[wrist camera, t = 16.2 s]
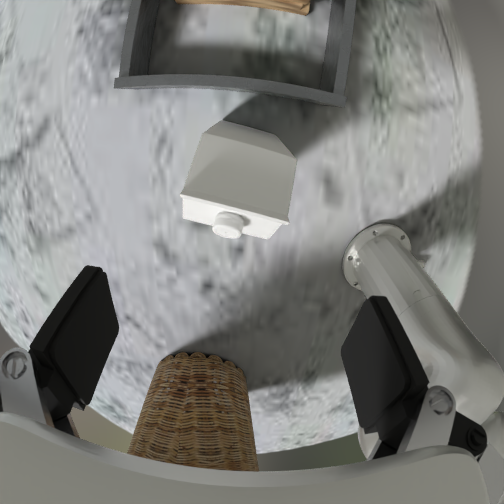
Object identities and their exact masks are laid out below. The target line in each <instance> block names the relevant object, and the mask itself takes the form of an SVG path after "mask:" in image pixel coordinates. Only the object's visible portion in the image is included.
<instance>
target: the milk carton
mask: <svg viewBox="0 0 504 504" xmlns="http://www.w3.org/2000/svg"><path fill="white" fill-rule="evenodd" d="M296 165H297V159H296V158H295V157H294V156H293V154H292V153H291V152H290V151H289V150H288V149H287V147H286V146H285V145H284V144H283V143H282V142H281V141H280V139H279V138H278V137H277V136H276V135H274V134H271V133H268V132H264V131H261V130H258V129H254V128H251V127H247V126H243V125H240V124H236V123H232V122H228V121H224V120H221V121H219V122H218V123H217V124H215V125H214V126H212V127H211V128H209V129H208V130H207V131H205V132H204V133H202V136H201V138H200V141H199V144H198V147H197V150H196V152H195V155H194V158H193V161H192V164H191V167H190V170H189V173H188V176H187V179H186V182H185V186H184V189H183V190H182V192H181V194H180V197H181V198H183V218H184V219H188V220H192V221H196V222H199V223H204V224H208V225H212V226H213V228H212V229H213V232H214V233H215V234H217V235H219V236H222V237H226V238H239V237H240V236H241V235H242V233H244V234H247V235H251V236H256V237H260V238H264V239H269V238H270V237H271V236H272V235H273V233H274V232H275V231H276V230H277V229H278V228H279V227H280V225H281V224H285V225H289V223H290V222H289V219H288V212H289V206H290V200H291V195H292V189H293V183H294V177H295V171H296Z"/></svg>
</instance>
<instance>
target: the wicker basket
mask: <svg viewBox="0 0 504 504" xmlns="http://www.w3.org/2000/svg"><path fill="white" fill-rule="evenodd" d="M127 454H130V455H134V456H138V457H142V458H146V459H151V460H155V461H160V462H165V463H171V464H176V465H183V466H189V467H197V468H205V469H215V470H228V471H252V472H259V468H258V461H257V454H256V447H255V440H254V433H253V426H252V419H251V411H250V404H249V396H248V390H247V383H246V377H245V376H244V374H243V371H242V370H241V369H240V368H237V369H236V367H235V365H234V364H233V363H232V362H231V361H225V362H224V363H223V361H222V359H221V358H220V357H218V356H216V355H211V356H209V357H208V358H206V356H205V355H204V354H203V353H200V352H195V353H193V354H192V355H191V356H190V357H189V355H188V354H187V353H185V352H181V353H179V354H177V355H176V356H175V358H174V357H173V356H172V355H169V356H167V357H166V358H165V359H164V361H160V362H159V364H158V366H157V369H156V371H155V374H154V376H153V379H152V382H151V384H150V387H149V390H148V393H147V396H146V398H145V401H144V404H143V407H142V410H141V413H140V416H139V419H138V422H137V425H136V428H135V431H134V434H133V437H132V440H131V443H130V447H129V450H128V453H127Z"/></svg>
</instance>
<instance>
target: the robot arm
mask: <svg viewBox="0 0 504 504" xmlns="http://www.w3.org/2000/svg"><path fill="white" fill-rule="evenodd" d="M424 267H425V261H423V260H417V259H416V258H415V257H414V256H413V255H412V253H411V243H410V240H409V238H408V236H407V235H406V234H405V232H404V231H403V230H401V229H400V228H399V227H397V226H395V225H392V224H377V225H373V226H371V227H369V228H367V229H365V230H363V231H362V232H360V233H359V234H358V235H357V236H356V237H355V238H354V239H353V240H352V241H351V242H350V244H349V245H348V247H347V249H346V251H345V254H344V256H343V261H342V269H343V273H344V276H345V278H346V280H347V281H348V283H349V284H350V285H351V286H352V287H354V288H356V289H358V290H362V291H363V292H364V294H365V296H366V298H367V299H366V300H365V302H364V303H363V306H362V308H361V310H360V312H359V314H358V316H357V318H356V320H355V322H354V324H353V326H352V328H351V330H350V332H349V334H348V336H347V338H346V340H345V342H344V344H343V345H342V348H341V356H342V360H343V363H344V367H345V370H346V374H347V378H348V382H349V385H350V389H351V393H352V397H353V401H354V405H355V409H356V413H357V417H358V421H359V428H358V439H359V443H360V446H361V449H362V451H363V453H364V455H365V457H366V458H367V461H364V462H358V463H353V464H347V465H341V466H334V467H327V468H319V469H310V470H296V471H276V472H275V471H272V472H252V471H228V470H215V469H205V468H197V467H189V466H183V465H176V464H171V463H165V462H160V461H155V460H151V459H146V458H142V457H138V456H134V455H130V454H126V453H122V452H119V451H116V450H113V449H109V448H106V447H103V446H100V445H97V444H94V443H91V442H88V441H86V440H83V439H80V437H79V435H78V432H77V430H76V428H75V425H74V422H73V420H72V417H71V415H70V412H71V409H72V407H75V408H77V409H80V410H83V411H84V409H85V406H86V405H89V404H90V402H91V400H92V397H93V394H94V391H95V389H96V386H97V383H98V381H99V378H100V376H101V373H102V371H103V368H104V366H105V363H106V361H107V358H108V356H109V353H110V351H111V349H112V346H113V344H114V342H115V339H116V337H117V335H118V332H119V324H118V320H117V317H116V313H115V309H114V305H113V301H112V297H111V292H110V288H109V284H108V279H107V275H106V273H105V272H103V270H102V268H100V267H95V266H89V265H87V266H85V267H84V268H83V270H82V271H81V272H80V274H79V275H78V276H77V277H76V279H75V280H74V281H73V283H72V284H71V285H70V287H69V288H68V289H67V291H66V292H65V294H64V295H63V296H62V298H61V299H60V301H59V302H58V303H57V305H56V306H55V308H54V309H53V311H52V312H51V314H50V315H49V317H48V318H47V320H46V321H45V323H44V324H43V326H42V327H41V329H40V330H39V332H38V333H37V335H36V337H35V338H34V340H33V342H32V343H31V345H30V350H29V352H27V350H25V349H23V348H12V349H10V350H8V351H7V352H6V353H5V354H4V355H3V356H2V358H1V359H0V504H504V412H502V411H497V412H494V411H495V410H496V409H497V407H498V406H499V404H500V403H501V401H502V399H503V396H504V374H503V371H502V369H501V367H500V366H499V364H498V363H497V361H496V360H495V359H494V357H493V356H492V355H491V354H490V353H489V351H487V349H486V348H485V347H484V346H483V345H482V344H481V342H480V341H479V340H478V339H477V338H476V337H475V335H474V334H473V333H472V332H471V331H470V329H469V328H468V327H467V326H466V324H465V323H464V322H463V320H462V319H461V318H460V316H459V315H458V314H457V312H456V311H455V310H454V308H453V307H452V305H451V304H450V303H449V301H448V300H447V299H446V297H445V296H444V295H443V293H442V292H441V291H440V289H439V288H438V287H437V285H436V284H435V283H434V282H433V280H432V279H431V278H430V276H429V275H428V274H427V273H426V271H425V270H424V269H423V268H424Z"/></svg>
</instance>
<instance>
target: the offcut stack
mask: <svg viewBox="0 0 504 504" xmlns="http://www.w3.org/2000/svg"><path fill="white" fill-rule="evenodd" d="M174 1H176V3H177V4H178V5H179V4H224V5H240V6H250V7H259V8H267V9H273V10H280V11H285V12H291V13H296V14H300V15H305V16H306V15H307V14H308V12H309V6H310V0H174Z"/></svg>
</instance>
